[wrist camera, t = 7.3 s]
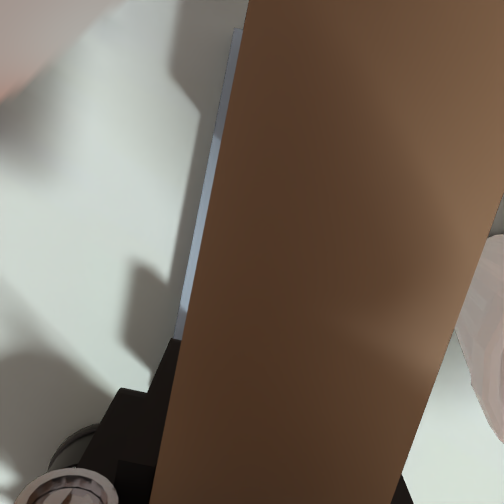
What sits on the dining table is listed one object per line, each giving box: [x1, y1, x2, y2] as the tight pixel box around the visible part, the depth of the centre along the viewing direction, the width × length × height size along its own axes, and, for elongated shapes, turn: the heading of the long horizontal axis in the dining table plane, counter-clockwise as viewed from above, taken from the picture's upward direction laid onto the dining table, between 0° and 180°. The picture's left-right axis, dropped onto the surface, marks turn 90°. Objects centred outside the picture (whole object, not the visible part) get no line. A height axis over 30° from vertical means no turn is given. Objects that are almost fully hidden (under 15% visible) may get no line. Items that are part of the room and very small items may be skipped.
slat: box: [149, 0, 504, 504], centre depth 9 cm, size 3×16×6 cm, turn 167°
